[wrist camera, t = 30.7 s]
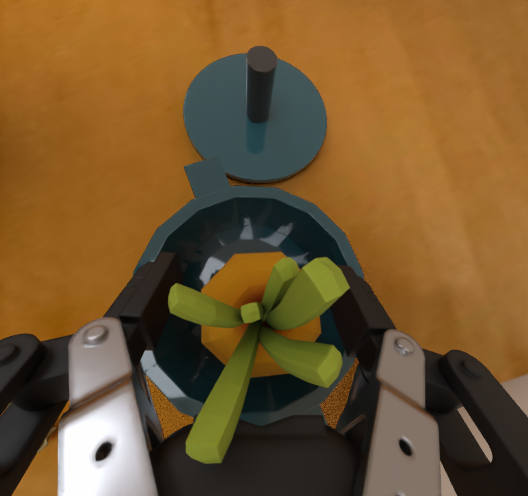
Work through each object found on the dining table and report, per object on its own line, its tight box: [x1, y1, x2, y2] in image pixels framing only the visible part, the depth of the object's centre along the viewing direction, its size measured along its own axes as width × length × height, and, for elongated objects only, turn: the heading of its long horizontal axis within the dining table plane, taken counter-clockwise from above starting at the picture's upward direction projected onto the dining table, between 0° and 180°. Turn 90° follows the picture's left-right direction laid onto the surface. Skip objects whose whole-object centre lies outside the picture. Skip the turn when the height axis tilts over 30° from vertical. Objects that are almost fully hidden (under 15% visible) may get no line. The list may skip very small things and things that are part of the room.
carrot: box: [168, 252, 350, 464], centre depth 10 cm, size 5×5×15 cm
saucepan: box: [133, 156, 364, 426], centre depth 15 cm, size 14×19×7 cm
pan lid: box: [183, 46, 327, 183], centre depth 18 cm, size 15×15×6 cm
